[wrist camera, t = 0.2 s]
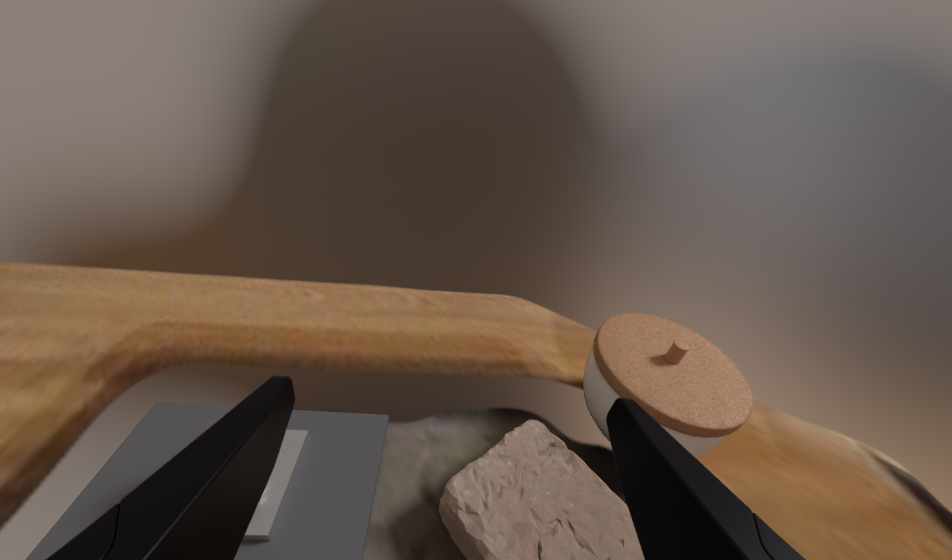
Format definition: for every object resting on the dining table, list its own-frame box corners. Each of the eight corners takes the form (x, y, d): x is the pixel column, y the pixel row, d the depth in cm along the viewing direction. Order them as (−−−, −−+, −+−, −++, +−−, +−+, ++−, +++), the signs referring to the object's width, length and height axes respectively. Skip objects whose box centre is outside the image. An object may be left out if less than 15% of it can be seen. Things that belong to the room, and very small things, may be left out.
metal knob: (270, 541, 19) (249, 498, 16) (150, 539, 18) (105, 494, 15) (309, 437, 24) (299, 389, 21) (216, 432, 23) (191, 383, 20)
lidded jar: (680, 393, 33) (737, 320, 28) (712, 512, 24) (803, 438, 19) (569, 358, 35) (603, 283, 29) (562, 458, 26) (607, 377, 21)
